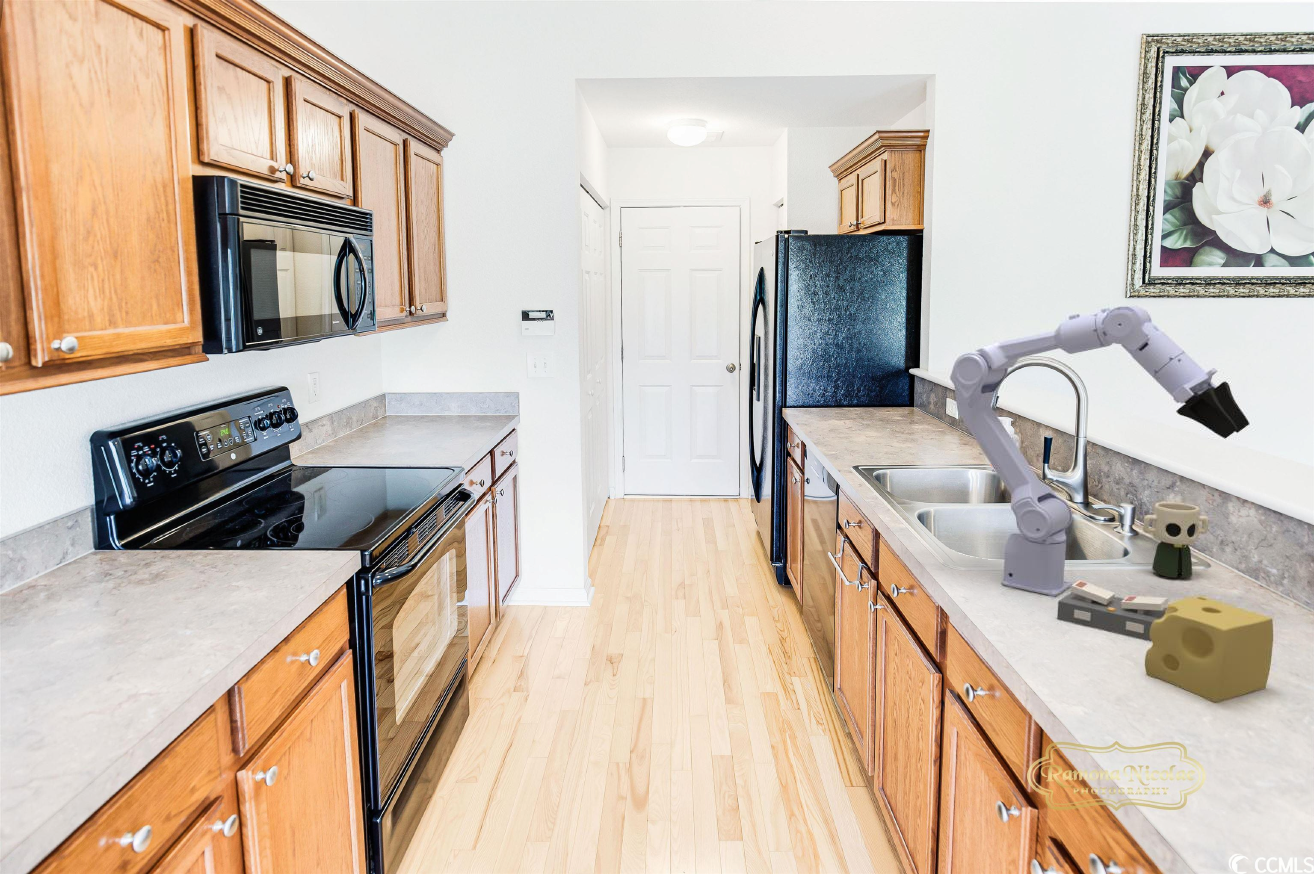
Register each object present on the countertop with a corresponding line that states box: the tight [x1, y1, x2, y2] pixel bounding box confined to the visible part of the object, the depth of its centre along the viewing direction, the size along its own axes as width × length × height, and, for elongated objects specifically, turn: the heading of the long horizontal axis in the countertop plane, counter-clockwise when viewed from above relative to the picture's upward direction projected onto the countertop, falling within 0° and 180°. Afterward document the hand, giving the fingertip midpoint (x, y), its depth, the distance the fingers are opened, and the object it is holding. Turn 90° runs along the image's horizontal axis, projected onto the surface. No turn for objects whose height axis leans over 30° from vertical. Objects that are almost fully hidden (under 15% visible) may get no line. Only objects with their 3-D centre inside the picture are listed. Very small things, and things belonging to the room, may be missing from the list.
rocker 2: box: [1121, 595, 1169, 611], centre depth 133 cm, size 6×4×1 cm, turn 45°
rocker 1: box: [1069, 580, 1116, 605], centre depth 139 cm, size 6×4×1 cm, turn 46°
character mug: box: [1142, 501, 1209, 578], centre depth 158 cm, size 11×7×13 cm, turn 82°
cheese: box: [1144, 595, 1274, 703], centre depth 115 cm, size 10×11×10 cm
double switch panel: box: [1057, 591, 1167, 642], centre depth 136 cm, size 15×8×4 cm, turn 45°
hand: (1237, 431), depth 130 cm, fingers open, 7 cm apart
